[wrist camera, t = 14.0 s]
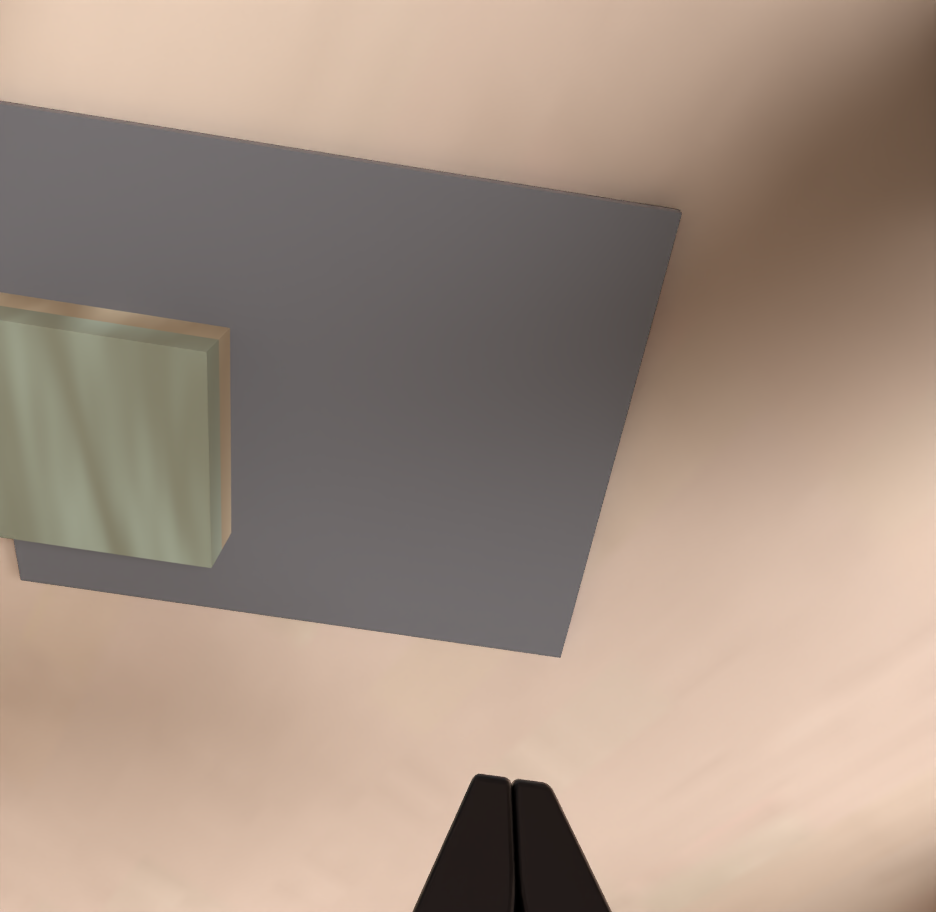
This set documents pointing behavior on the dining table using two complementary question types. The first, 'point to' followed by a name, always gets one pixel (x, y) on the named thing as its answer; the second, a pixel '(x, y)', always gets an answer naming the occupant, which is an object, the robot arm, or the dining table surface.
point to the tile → (114, 431)
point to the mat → (357, 365)
